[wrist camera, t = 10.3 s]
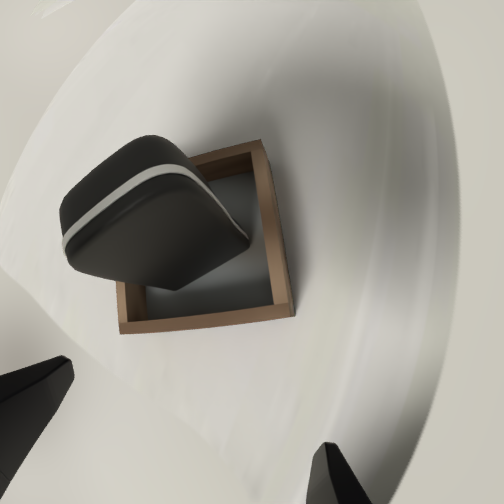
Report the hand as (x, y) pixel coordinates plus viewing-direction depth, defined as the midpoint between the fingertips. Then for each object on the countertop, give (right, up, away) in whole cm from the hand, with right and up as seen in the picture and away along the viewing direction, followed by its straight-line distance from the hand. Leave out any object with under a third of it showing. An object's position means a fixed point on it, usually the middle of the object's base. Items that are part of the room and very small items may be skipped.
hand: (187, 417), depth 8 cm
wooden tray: (-1, +5, +14) cm, 15 cm away
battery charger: (-1, +5, +13) cm, 14 cm away
